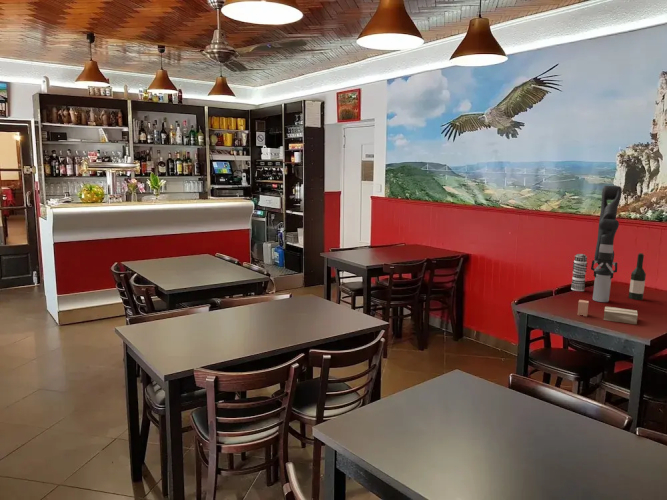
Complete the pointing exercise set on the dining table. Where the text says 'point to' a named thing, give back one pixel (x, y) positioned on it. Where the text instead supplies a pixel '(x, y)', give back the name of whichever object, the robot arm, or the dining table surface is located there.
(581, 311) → the terracotta block
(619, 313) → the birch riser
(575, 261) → the leaning tower model
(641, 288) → the wine bottle
